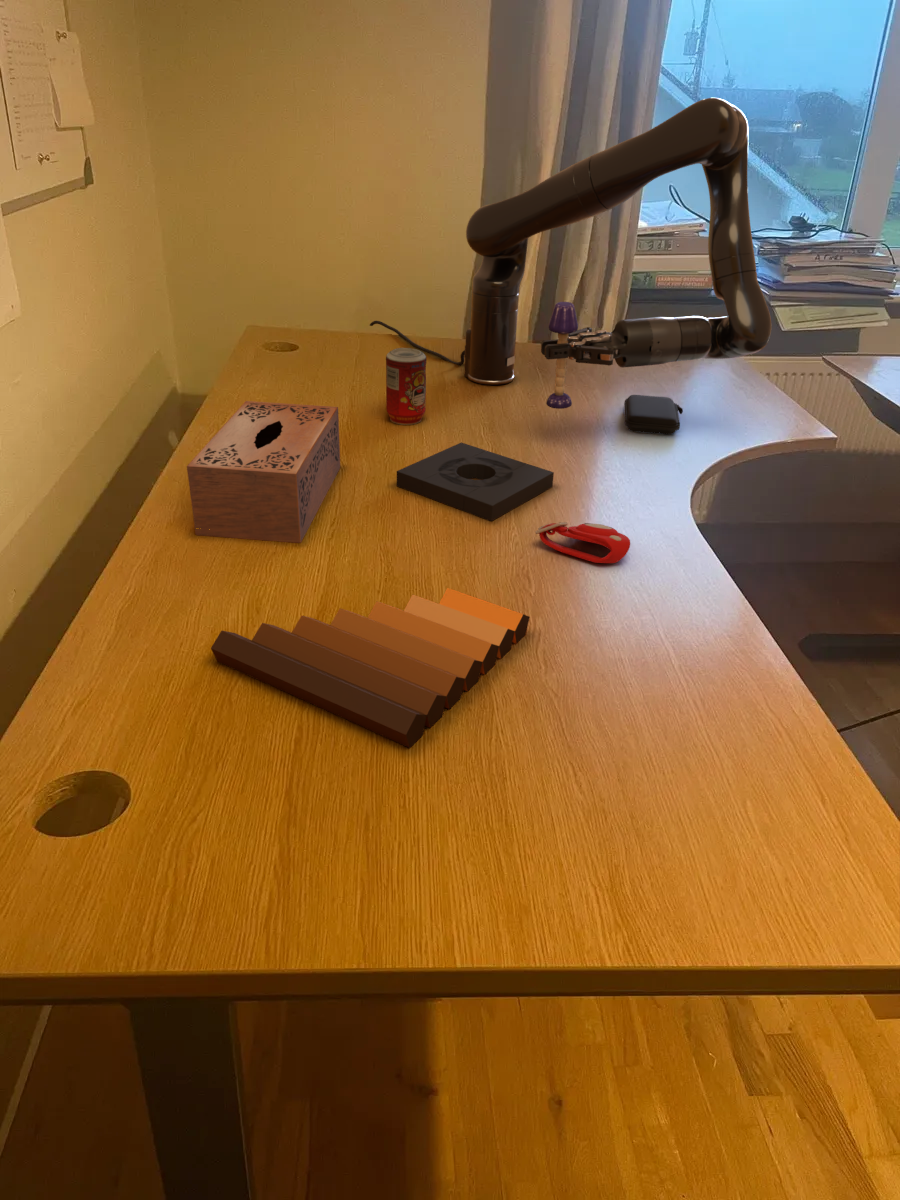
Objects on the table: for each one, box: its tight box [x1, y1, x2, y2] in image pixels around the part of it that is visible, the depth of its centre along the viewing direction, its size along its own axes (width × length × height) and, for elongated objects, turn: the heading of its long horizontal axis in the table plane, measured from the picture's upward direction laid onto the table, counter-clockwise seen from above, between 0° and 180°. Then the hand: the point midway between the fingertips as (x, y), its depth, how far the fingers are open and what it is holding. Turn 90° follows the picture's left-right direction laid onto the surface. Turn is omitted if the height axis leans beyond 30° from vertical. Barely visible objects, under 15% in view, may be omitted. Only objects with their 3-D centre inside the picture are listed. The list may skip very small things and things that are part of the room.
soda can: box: [385, 347, 427, 426], centre depth 157 cm, size 7×7×12 cm
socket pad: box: [396, 441, 555, 522], centre depth 136 cm, size 18×16×2 cm
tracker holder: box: [535, 521, 631, 564], centre depth 119 cm, size 12×4×10 cm
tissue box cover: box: [186, 400, 341, 544], centre depth 128 cm, size 26×14×10 cm, turn 174°
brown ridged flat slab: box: [210, 587, 531, 749], centre depth 98 cm, size 25×3×25 cm
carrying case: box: [623, 394, 684, 435], centre depth 163 cm, size 11×3×15 cm
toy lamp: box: [545, 301, 579, 410], centre depth 144 cm, size 5×5×17 cm
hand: (543, 350), depth 143 cm, fingers closed on toy lamp
